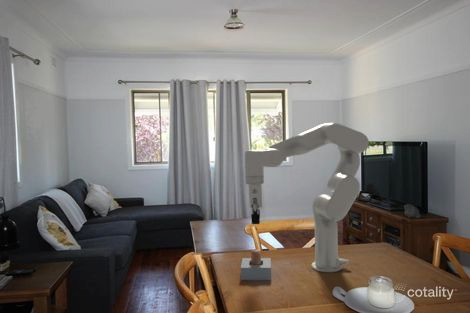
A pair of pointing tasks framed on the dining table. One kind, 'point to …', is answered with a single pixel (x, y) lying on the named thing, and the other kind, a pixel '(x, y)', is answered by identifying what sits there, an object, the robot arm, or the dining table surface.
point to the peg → (255, 257)
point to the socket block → (256, 269)
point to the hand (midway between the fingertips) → (255, 221)
